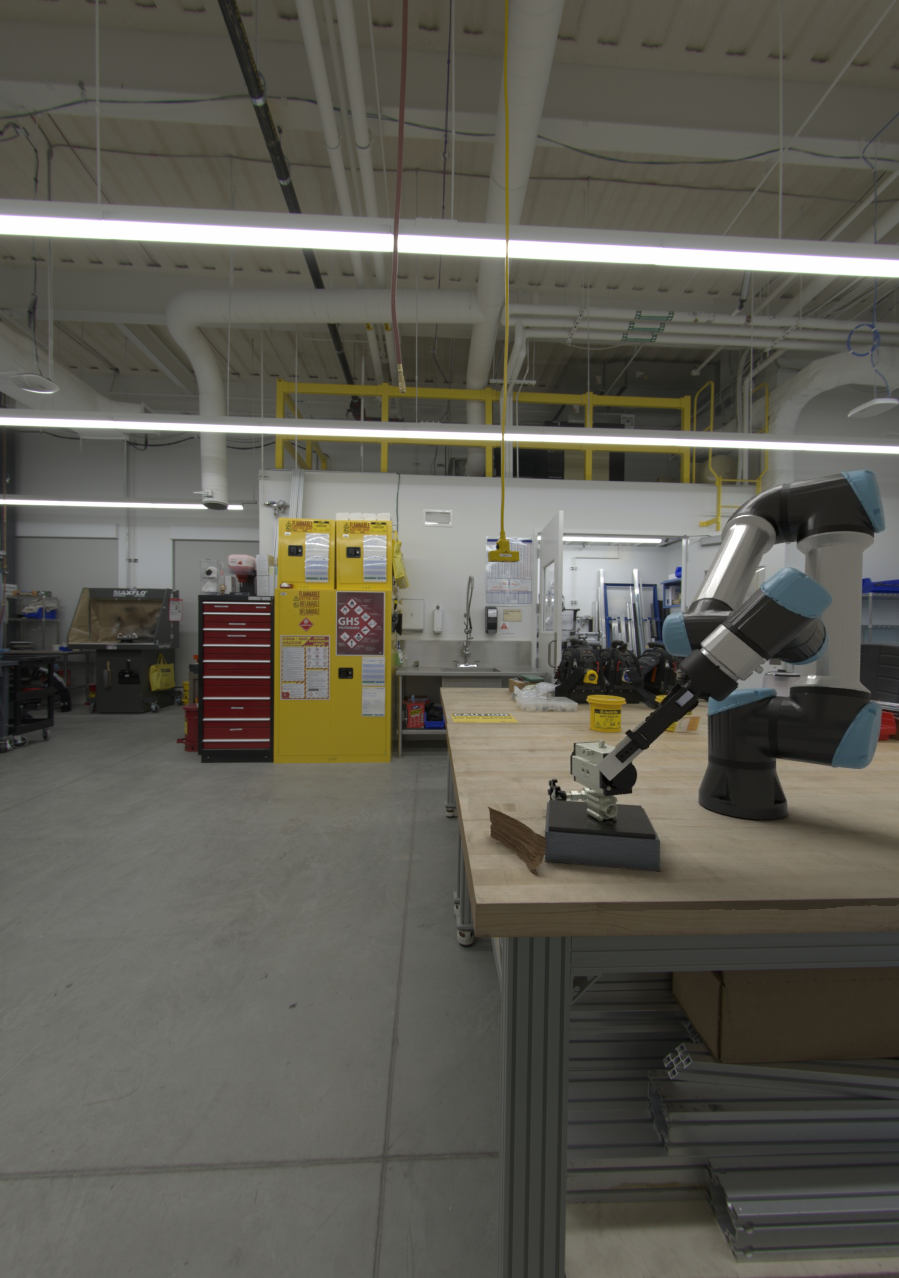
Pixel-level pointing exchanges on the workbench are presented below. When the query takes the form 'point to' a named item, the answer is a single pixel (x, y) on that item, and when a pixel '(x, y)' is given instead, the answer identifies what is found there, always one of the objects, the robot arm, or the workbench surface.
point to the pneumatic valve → (600, 778)
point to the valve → (563, 796)
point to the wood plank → (518, 838)
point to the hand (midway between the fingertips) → (612, 762)
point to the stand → (601, 837)
